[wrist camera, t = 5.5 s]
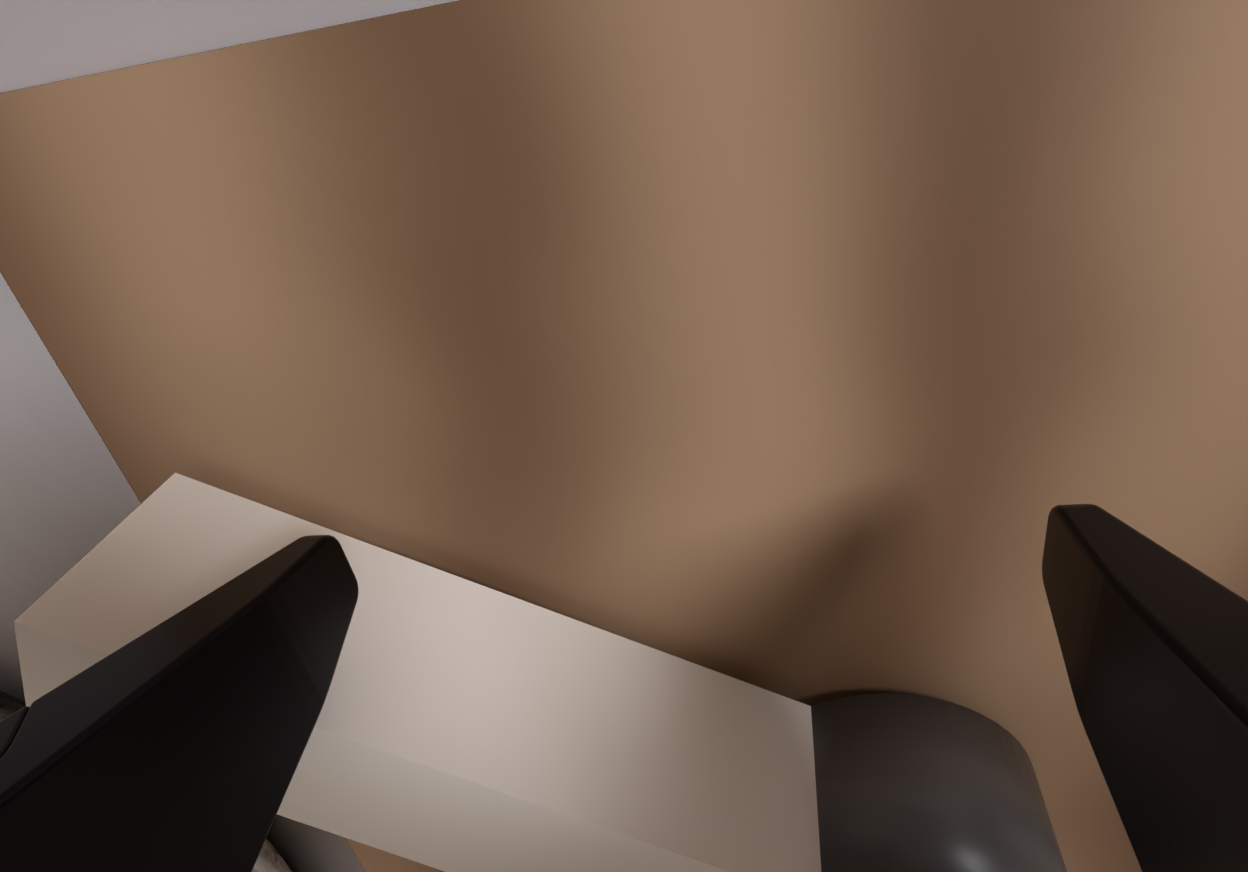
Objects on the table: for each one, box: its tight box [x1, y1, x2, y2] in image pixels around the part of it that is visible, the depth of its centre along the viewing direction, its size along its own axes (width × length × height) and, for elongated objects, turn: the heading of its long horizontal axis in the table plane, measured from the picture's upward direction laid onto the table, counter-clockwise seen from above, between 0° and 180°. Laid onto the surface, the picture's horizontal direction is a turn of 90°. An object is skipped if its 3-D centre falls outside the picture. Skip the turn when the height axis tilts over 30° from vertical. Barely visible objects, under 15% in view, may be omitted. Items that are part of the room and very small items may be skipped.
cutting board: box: [0, 0, 1248, 872], centre depth 14 cm, size 24×25×2 cm
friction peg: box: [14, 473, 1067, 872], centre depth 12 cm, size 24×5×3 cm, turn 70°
